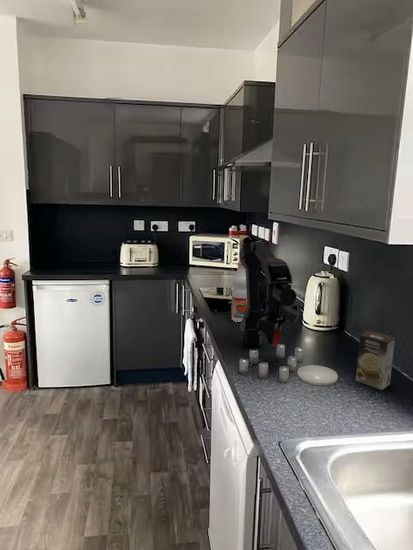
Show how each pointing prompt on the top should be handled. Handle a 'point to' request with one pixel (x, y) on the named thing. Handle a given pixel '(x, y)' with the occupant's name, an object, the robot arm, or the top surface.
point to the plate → (317, 375)
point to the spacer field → (264, 366)
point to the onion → (276, 338)
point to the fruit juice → (239, 294)
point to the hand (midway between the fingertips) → (273, 341)
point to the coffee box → (375, 359)
